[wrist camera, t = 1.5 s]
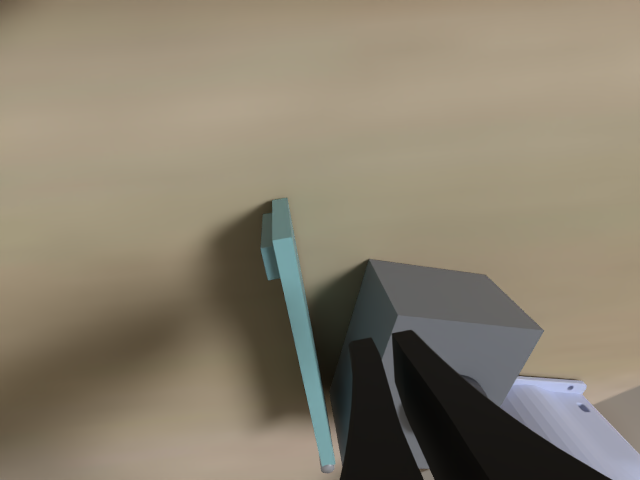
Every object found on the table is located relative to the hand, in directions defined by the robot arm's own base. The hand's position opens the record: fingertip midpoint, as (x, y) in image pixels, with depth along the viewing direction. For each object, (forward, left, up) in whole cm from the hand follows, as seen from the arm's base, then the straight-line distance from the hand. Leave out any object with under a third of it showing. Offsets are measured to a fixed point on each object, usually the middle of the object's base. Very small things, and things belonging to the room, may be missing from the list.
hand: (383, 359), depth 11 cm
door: (+1, +6, -10) cm, 12 cm away
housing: (-7, +7, -10) cm, 14 cm away
